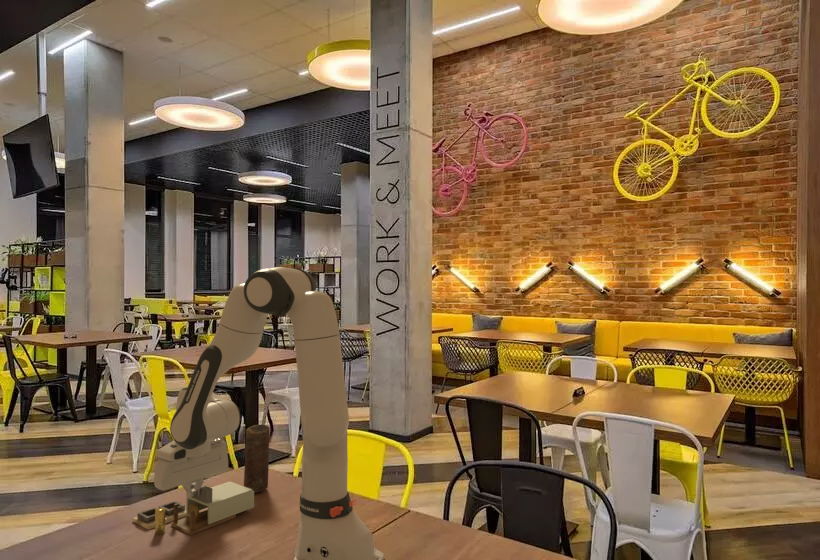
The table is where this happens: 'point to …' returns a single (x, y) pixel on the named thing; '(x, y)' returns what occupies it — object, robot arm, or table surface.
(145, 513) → the tan socket tray
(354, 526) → the robot arm
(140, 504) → the table surface
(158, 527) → the pin
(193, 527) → the base
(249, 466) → the brown wooden log
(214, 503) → the lid
